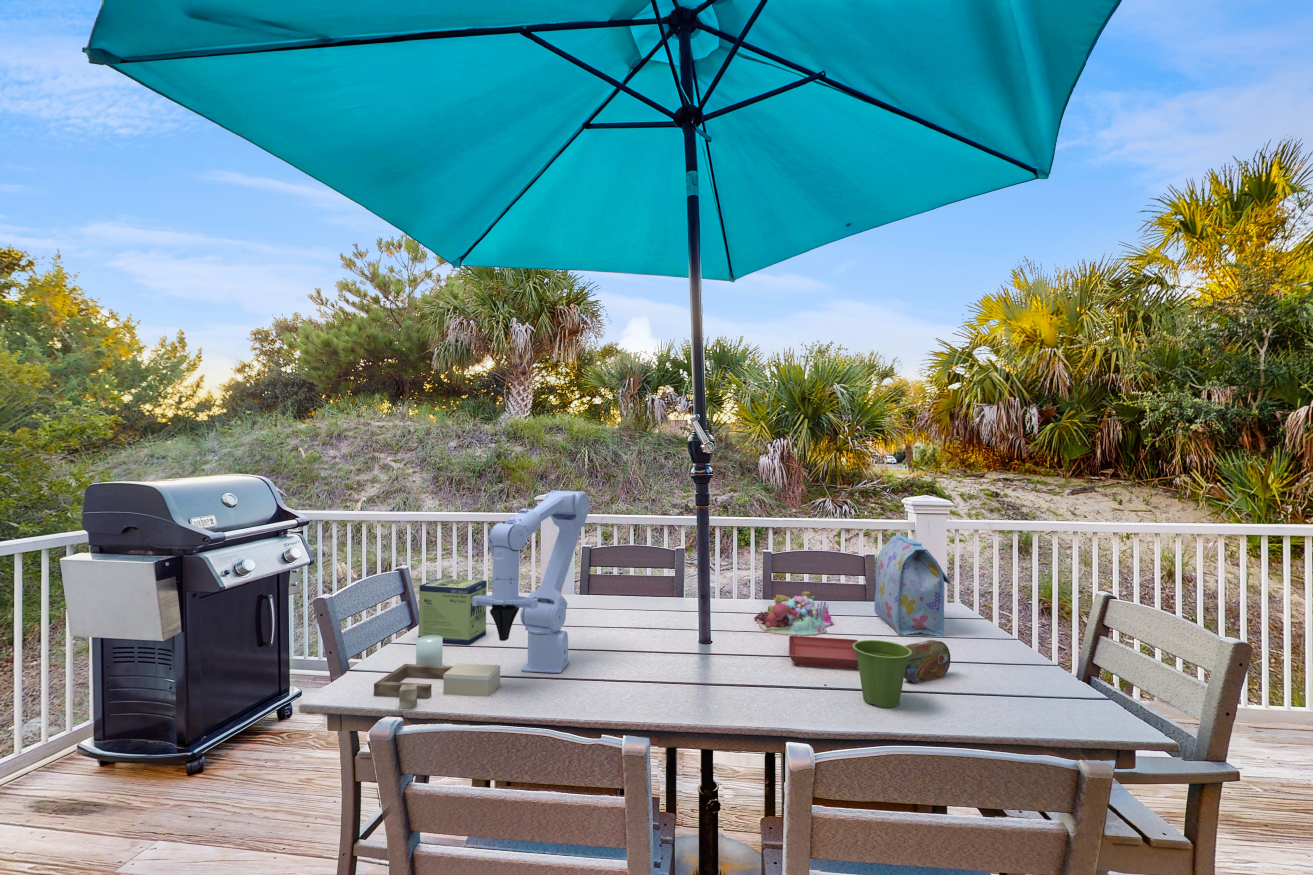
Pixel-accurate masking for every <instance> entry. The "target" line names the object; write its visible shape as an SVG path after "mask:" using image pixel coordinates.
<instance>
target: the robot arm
mask: <svg viewBox="0 0 1313 875" xmlns="http://www.w3.org/2000/svg"><path fill="white" fill-rule="evenodd" d="M590 508H591V506H590V499H589V496H588V494H587V492H586V491H583V490H579V491H575V490H574V491H572V490H570V491H569V490H556V489H553V490H551V491H550V492H547V493H546V496H545V499H543V500H542V501H541V502H540V503H538V505H536V506H535V507H533V509H532V508H531V509H530V508H522V509H519V512H518V513H517V514H516V515H514V516H513V517H509V518H508V519H507V521H505V522H504V523H501V522H500V523H496V524H495V525H494V526H492V527H491V528H490V531H489V535H488V536H487V543H488V546H489V547H490V555H491V557H492V582H491V583H492V584H491V586H492V587H491V588H492V589H491V590H492V591H491V595H487V596H477V595H476V596H474V597H473V600H472V606H478V605H482V606H486V607H491V609H489V614H490V615H491V617H492V619H493V621H494V623H495V626H496V630H497V634H498V640H499V641H501V642H502V641H503V642H506V641H507V640H509V638H510V634H511V630H512V627H513V623H514V620H515V618H516V617H517V614H518V612H519V610H520V608H521V610H520V621H521V624H522V625H523V627H525V628H524V629H525V631H527V663H526V665H524V666H523V667H522V669H521V671H522V672H533V673H551V674H552V673H553V674H554V673H555V674H560V673H562V672H563V671H564V670H565V668H566V666H568V665H569V663H570V661H569V637H568V636H569V634H568V631H566V630H561V629H562V628H563V626H564V625H565V622H566V617H567V616H566V615H567V607H568V602H567V600H566V598H565V597H564V595H562V590H563V587H564V584H565V582H566V578H567V575H568V572H569V568H570V566H571V563H572V559H573V556H574V553H575V550H576V547H577V545H578V544H577V543H578V542H579V538H580V533H581V531H582V528H583V527H584V526H585V523H586V521H587V517H588V514H589V511H590ZM548 518H551V520H552V522H553V524H554V525H555V526H556V527H558V529H559V531H558V533H557V537H556V540H555V542H554V546H553V549H552V551H551V555H550V557H549V560H548V562H547V563H548V564H547V566H546V568H545V573H544V575H543V578H542V582H541V583H540V587H539V588H537V589H534V591H532V592H530V593H529V594H528V597H527V596H521V595H519V584H520V583H519V582H520V551H521V550H522V549H523V548H524V546H525V543H526V542H527V540H528V538H529V537H530V536H532V535H533V534H534V533H536V532H537V531H539V529H540V527H541V525H542V522H543V521H545V520H546V519H548Z"/></svg>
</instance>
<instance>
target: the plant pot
mask: <svg viewBox="0 0 1313 875" xmlns="http://www.w3.org/2000/svg"><path fill="white" fill-rule="evenodd" d="M852 646H853V648H854V649H855V652H856V658H857V660H858V665H859V667H858V671H859V677H860V685H861V691H862V692H861V693H862V699H863V701H864V702H865V703H867V704H870V705H872V704H873V705H875V706H876V707H879V708H889V709H890V708H895V707H896V706H897V705H900V702H901V701H900V700H901V696H902V691H903V685H904V679H905V678H904V675H905V669H906V666H907V664H908V659H909V656H911V654H912V651H911V650H910V649H909V648H908V647H906V645H903V644H899V643H897V642H893V641H889V640H888V641H887V640H881V639H879V640H877V639H876V640H875V639H863V640H858V642H855V643H854V644H853V645H852Z"/></svg>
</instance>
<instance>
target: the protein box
mask: <svg viewBox="0 0 1313 875" xmlns="http://www.w3.org/2000/svg"><path fill="white" fill-rule="evenodd" d="M487 586H488V581H487V580H486V579H485V580H483V579H482V580H479V579H478V580H477V579H457V578H456V579H455V578H441V577H440V578H438V579H434V580H431V581H429V582H426V583H422V584H420V585H419V592H418V593H419V595H418V596H419V597H418V636H417V638H419V637H422V636H427V635H439V636H442V637H443V644H447V645H448V644H450V645H459V646H460V645H462V646H469V645H471V644H473V643H474V642H476V641H478V640H480V639H481V638H483V637H484V636H487V606H482V605H478V606H472V600H473V597H474V596H476V595H477V596H488V595H487V594H488V593H487V592H488V591H487V588H488V587H487Z"/></svg>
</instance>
